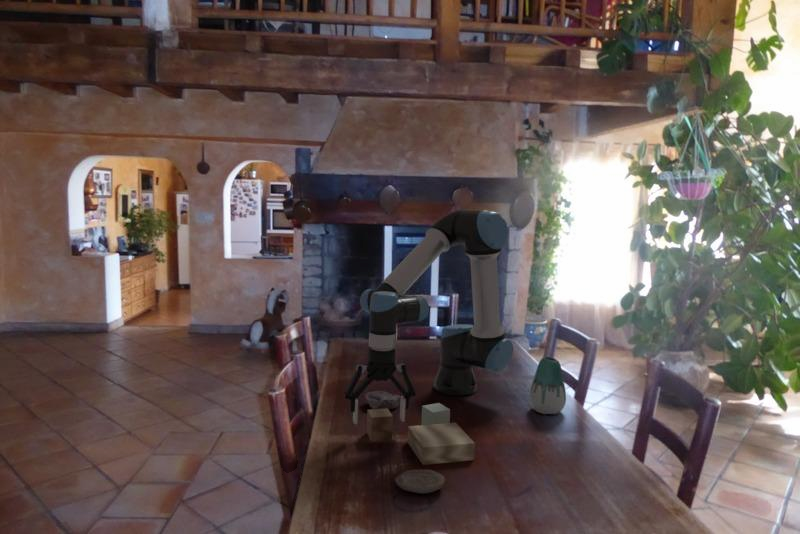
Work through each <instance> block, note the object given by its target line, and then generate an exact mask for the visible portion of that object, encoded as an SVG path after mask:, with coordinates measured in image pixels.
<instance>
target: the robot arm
mask: <svg viewBox="0 0 800 534" xmlns="http://www.w3.org/2000/svg"><path fill="white" fill-rule="evenodd" d="M508 237H509V227H508V223H507V221H506V219H505V218H504V217H503V216H502V214H501V213H499V212H496V211H491V210H488V209H486V210H484V209H483V210H481V209H463V208H462V209H456V210H453V211H451V212H449V213H447V214H445V215H443V216H441V217H440V218H439V219H438V220H436V221H435V222H434V223H433V224H432V225H431V226H430V227H428V229H427V230H426V231H425V236H424V237H423V238H422V240H421V241H419V243H418V244H417V245H416V246H414V248H413V249H412V250H411V251H410V252H409V253H408V254H407V255H406V256H405V257H404V259H402V261H400V263H399V264H398V265H397V266H396V267H395V268H394V269H393V270H391V272H390V273H389V274H388V275H387V276H386V277H385V278H384V279H383V281H382V282H380V284H379V285H378V286H377V287H376V288H368V289H366V290H364V291H363V292H362V293H361V295H360V298H359V305H360V307H361V309H362V311H364V312H365V313H368V314H369V326H368V327H369V330H368V331H369V332H368V333H369V334H368V337H369V338H368V347H369V348H368V352H367V363H366V365H361V364H360V363H357V364H356V365H355V372H354V373H353V375H352V377H351V380H350V381H349V383H348V384H347V387H346V388H345V390H344V392H343V397H344V399H346V400H349V410H350V412H351V413H352V422H353V423H354V425H358V415H359V414H358V413H359V411H358V410H359V400H358V398H359V396H360V395H362V393H363V392H364V391H365V390H366V389H367V387H368V386H369V385H370V384H372V383H373V381H375V382H381V381H382V382H388V380H391V382H392V383H393V385H395V387H396V388H397V389H398V390H399V392H400V393H401V394H402V395H401V396H400V403H399V420H400V421H401V422H402V423H403V422H405V419H406V418H405V417H406V410H409V406H410V399H411V397H415V396H416V395H417V394H416V391H415V389H414V386H413V385H412V382H411V380H410V378H409V375H408V374H407V367H406V364H404V363H403V362H400V363H397V364H396V349H395V348H396V345H397V326H398V325H403V324H405V325H406V324H410V323H411V324H412V323H418V322H422V321H424V320H426V319H427V317H428V316H429V314H430V313H429V311H430V306H429V302H428V300H427V299H426V298H425V297H423V296H421V295H415V294H414V295H411V296H410V295H405V294H406V293H407V291H408V290H410V288H411V287H412V286H413V285H414V283H416V282H417V281H418V280H419V278H420V277H421V276H422V275H423V274H424V273H425V272H426V271H427V269H429V267H430V266H431V265H432V264H433V263H434V262H435V260H437V259H438V257H439V256H440V255H441V254H442V253H446V252H448V251H449V250H450V248H453V247H454V246H458V245H461V246H464V251H465V252H464V253H465V255H466V256H468V257H469V261H470V275H471V292H472V293H471V295H472V309H473V324H463V323H462V324H461V323H460V324H450V325H445V326H444V327H442V329H441V334H440V349H439V350H440V355H439V368H438V370H437V372H436V373H437V374H436V376H435V379H434V382H433V389H435V391H436V392H439V393H441V394H445V395H451V396H467V395H472V394H474V393H476V391H477V385H478V384H477V381H476V377H475V372H474V370H473V367H476V368H479V369H484V370H486V371H487V372H488V371H489V372H490V371H492V372H495V373H499V372H501V371H504V369H506V368H507V366H508V365H510V364H509V363H510V362H511V360H512V357H513V354H514V353H513V352H514V345H513V342H512V340H511V339H509V338H506V329H505V328H504V327H502V325H501V317H500V315H501V314H500V298H499V297H500V296H499V294H500V293H499V277H498V258H497V257H498V256H499V255H500V254H501V252H502V248H503V247H504V246H505V245H506V243H507V240H508ZM365 371H367V374H366V375H365V376H364V379H363V380H362V381H361V382H360V383H359V385H358V386H357V384H358V382H359V380H360V378H361V376H362V374H364V373H365ZM396 371H398V372H399V373H400V374H401V377H402V379H403V380H404V384H405V385H406V387H407V390H408V391H406V389H405V388H403V386H402V385H401V383H400V382H399V381H398V380H397V378H396V377H395V376H394V375H393V374H394V373H395V372H396ZM356 386H357V387H356ZM355 387H356V388H355Z"/></svg>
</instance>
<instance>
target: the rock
mask: <svg viewBox="0 0 800 534" xmlns="http://www.w3.org/2000/svg"><path fill="white" fill-rule="evenodd" d="M364 397H365V401H366V402H367V405H368V406H369V409H370V410H371V409H387V408H388V409H389V410H391V409H392V410H393V409H396V408H398V406H400V400H401V396H400V395H399V394H392V393H390V392H387V391H384V390H375V391H374V390H373V391H368V392H366V393H365V394H364Z"/></svg>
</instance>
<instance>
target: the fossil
mask: <svg viewBox="0 0 800 534" xmlns="http://www.w3.org/2000/svg"><path fill="white" fill-rule="evenodd" d="M445 480H446V479H445V476H444V475H442V474H441V473H439V472H437V471H435V470H432V469H410V470H406V471H403V472H402V473H400V474H399V475H398V476H396V477H395V483H396V485H397V486H398V488H400V489H402V490H403V491H405V492H410V493H416V494H430V493H434V492H436V491H438V490H440V489H442V488H443V487H444V484H445V482H446V481H445Z"/></svg>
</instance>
